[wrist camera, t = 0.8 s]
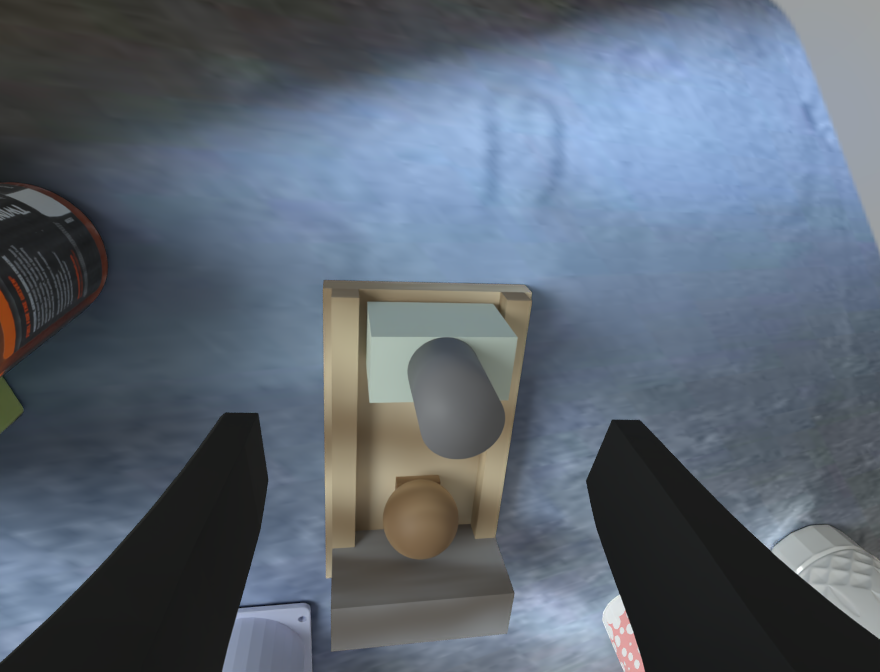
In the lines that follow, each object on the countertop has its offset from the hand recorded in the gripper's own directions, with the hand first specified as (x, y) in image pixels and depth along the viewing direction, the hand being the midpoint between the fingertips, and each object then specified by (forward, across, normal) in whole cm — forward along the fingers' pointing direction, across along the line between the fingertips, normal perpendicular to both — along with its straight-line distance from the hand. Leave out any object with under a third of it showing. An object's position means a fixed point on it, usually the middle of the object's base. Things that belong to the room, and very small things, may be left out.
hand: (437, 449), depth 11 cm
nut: (+11, -1, +16) cm, 20 cm away
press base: (+13, -1, +14) cm, 19 cm away
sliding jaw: (+13, -1, +7) cm, 15 cm away
